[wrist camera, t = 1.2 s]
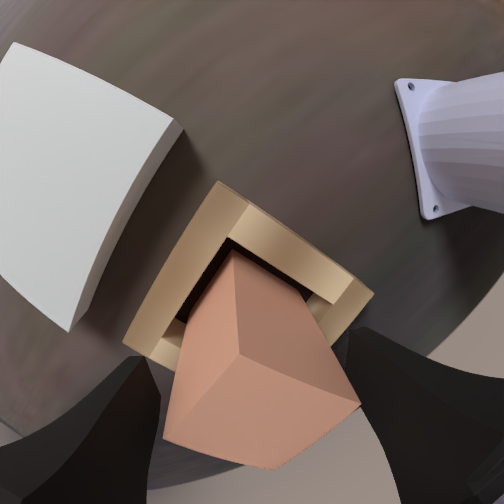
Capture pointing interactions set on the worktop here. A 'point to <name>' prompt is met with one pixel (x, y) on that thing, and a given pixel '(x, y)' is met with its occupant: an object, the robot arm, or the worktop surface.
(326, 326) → the socket
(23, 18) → the worktop surface
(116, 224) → the platform
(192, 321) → the block
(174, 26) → the worktop surface
